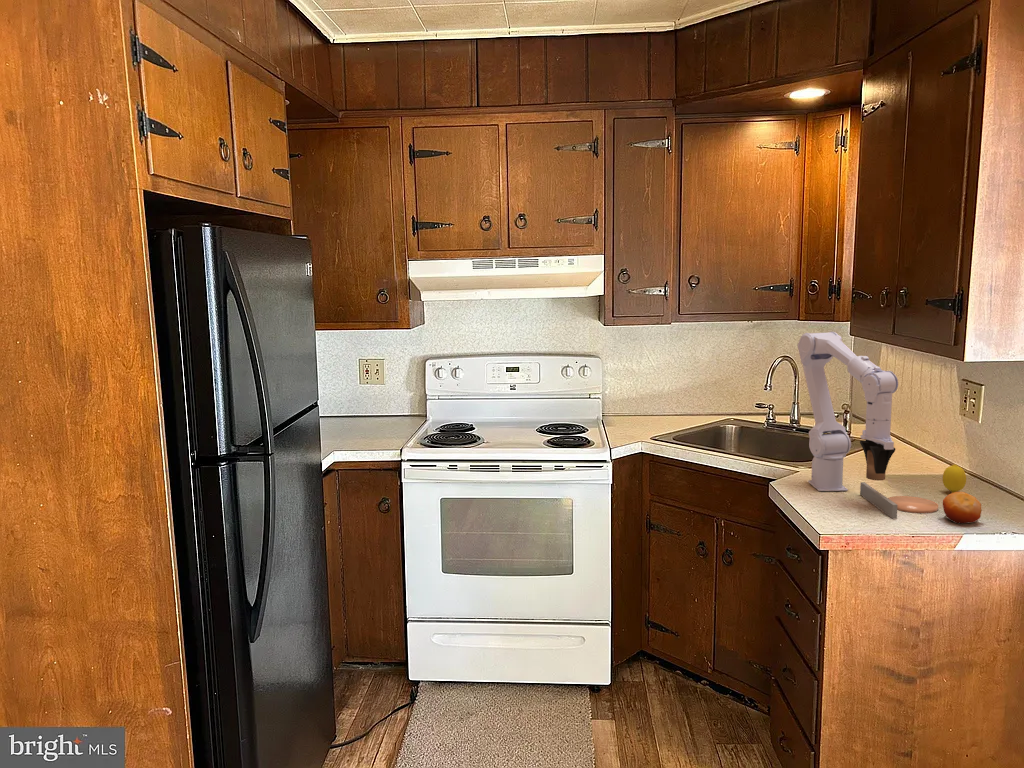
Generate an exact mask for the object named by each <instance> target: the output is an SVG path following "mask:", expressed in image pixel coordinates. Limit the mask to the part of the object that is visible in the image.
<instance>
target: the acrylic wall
mask: <svg viewBox="0 0 1024 768" xmlns="http://www.w3.org/2000/svg"><path fill="white" fill-rule="evenodd" d="M859 489H860V491H859V492H860V493H859V495H860V496H861V495H862V496H863V497H862V496H861V497H862V498H864V499H865V498H866V499H865V500H867V501H868V502H869V501H870V503H871V504H872V505H874V506H875V507H876V508H877V509H879V510H880V511H882V512H883V513H884V514H886V515H887V516H888V517H890V518H891V519H895V520H896V519H898V510H897V506H898V505H897V504H896V503H894V502H893V501H891V500H890V499H888V498H889V497H887V496H885V495H884V494H883V493H881V492H879V491H878V490H877V489H875V488H873V487H872V486H871V485H869V484H867V482H864V481H863V482H861V481H860V487H859Z"/></svg>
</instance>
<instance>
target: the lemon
mask: <svg viewBox="0 0 1024 768" xmlns="http://www.w3.org/2000/svg"><path fill="white" fill-rule="evenodd" d="M942 484H943V487H944V488H945V489H947V490H949V491H950V492H951V493H954V492H961V491H962V490H963V489H964V488H965V486H966V484H967V474H966V472H965V470H964V468H962V467H961V466H960V465H959V466H958V464H955V463H954V464H952V465H949V466H947V467H946V468H945V469H944V471H943V474H942Z"/></svg>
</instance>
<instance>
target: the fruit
mask: <svg viewBox="0 0 1024 768" xmlns="http://www.w3.org/2000/svg"><path fill="white" fill-rule="evenodd" d="M942 509H943V513H944V514H945V515H944V518H945V517H947V519H948V520H950V521H951V522H954V523H955V524H958V523H960V525H961V524H970V523H975V522H977V521H978V520H980V519H981V516H982V511H983V510H982V504H981V502H980V501H979V500H978V498H976V497H975V496H973V495H972V494H969V493H967V492H964V491H957V492H954V493H952V492H951V493H949V494H947V495H946V496H945V497H944V498H942Z"/></svg>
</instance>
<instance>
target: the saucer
mask: <svg viewBox="0 0 1024 768" xmlns="http://www.w3.org/2000/svg"><path fill="white" fill-rule="evenodd" d="M887 498H888V499H890V500H891V501H893V502H894V503H896V504H897V505H898V506H897V511H899V512H900V511H901V512H905V513H911V514H931V513H936V512H937V511H938V510H939V504H938V503H937V502H935V501H933V500H930V499H927V498H924V497H917V496H910V495H896V496H895V495H894V496H889V497H887Z"/></svg>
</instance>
